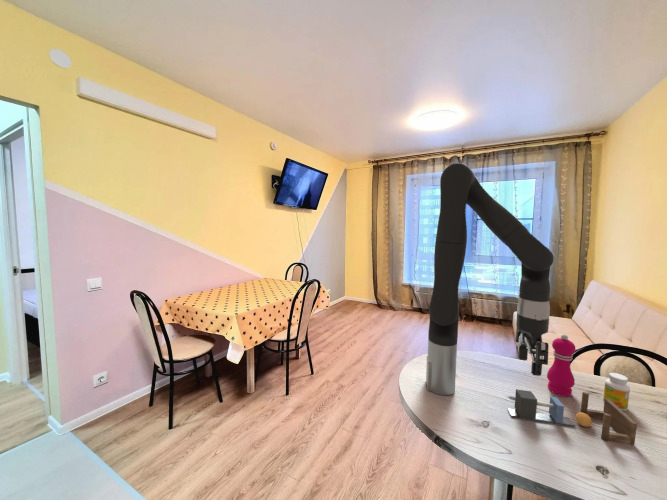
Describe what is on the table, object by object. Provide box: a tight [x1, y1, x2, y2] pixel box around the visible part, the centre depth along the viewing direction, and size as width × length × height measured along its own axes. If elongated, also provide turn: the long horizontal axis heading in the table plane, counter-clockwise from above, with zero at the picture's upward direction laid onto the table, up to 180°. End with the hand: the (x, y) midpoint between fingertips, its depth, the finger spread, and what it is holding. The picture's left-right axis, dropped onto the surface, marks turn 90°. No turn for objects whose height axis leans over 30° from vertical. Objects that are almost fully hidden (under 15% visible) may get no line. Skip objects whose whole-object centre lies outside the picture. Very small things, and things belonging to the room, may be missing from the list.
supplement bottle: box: [602, 372, 631, 411], centre depth 85 cm, size 5×5×10 cm
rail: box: [507, 408, 577, 428], centre depth 80 cm, size 16×3×1 cm, turn 75°
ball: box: [574, 411, 593, 428], centre depth 77 cm, size 4×4×4 cm
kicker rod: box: [514, 389, 565, 423], centre depth 80 cm, size 11×4×6 cm, turn 75°
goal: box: [579, 391, 638, 446], centre depth 75 cm, size 7×10×7 cm, turn 165°
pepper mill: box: [546, 334, 577, 397], centre depth 91 cm, size 7×7×20 cm
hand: (529, 366), depth 80 cm, fingers open, 8 cm apart
